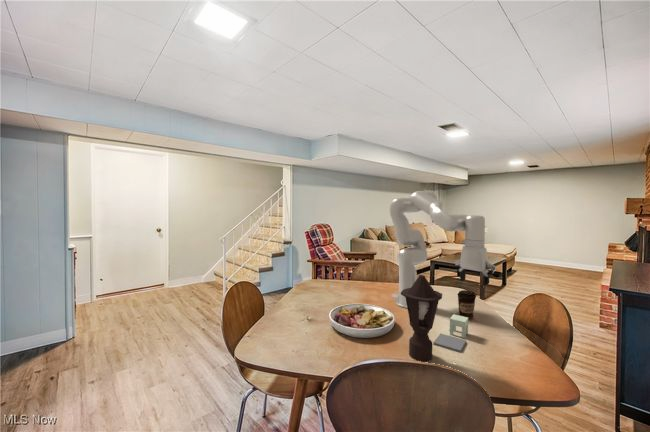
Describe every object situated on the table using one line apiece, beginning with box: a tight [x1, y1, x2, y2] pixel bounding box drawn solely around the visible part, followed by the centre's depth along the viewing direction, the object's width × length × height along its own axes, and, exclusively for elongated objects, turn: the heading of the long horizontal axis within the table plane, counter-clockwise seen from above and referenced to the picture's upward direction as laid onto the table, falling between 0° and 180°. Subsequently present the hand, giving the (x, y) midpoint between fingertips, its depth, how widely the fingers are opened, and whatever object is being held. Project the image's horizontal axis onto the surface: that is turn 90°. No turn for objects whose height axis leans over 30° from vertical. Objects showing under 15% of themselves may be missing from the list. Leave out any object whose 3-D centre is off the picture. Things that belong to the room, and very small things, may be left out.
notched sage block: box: [449, 314, 469, 340], centre depth 121 cm, size 6×6×7 cm
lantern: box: [401, 274, 443, 363], centre depth 103 cm, size 15×15×30 cm
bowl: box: [328, 303, 396, 339], centre depth 130 cm, size 30×30×8 cm
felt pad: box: [432, 333, 467, 353], centre depth 113 cm, size 10×10×1 cm
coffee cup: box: [456, 289, 477, 321], centre depth 138 cm, size 9×8×13 cm
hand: (474, 282), depth 122 cm, fingers open, 9 cm apart
